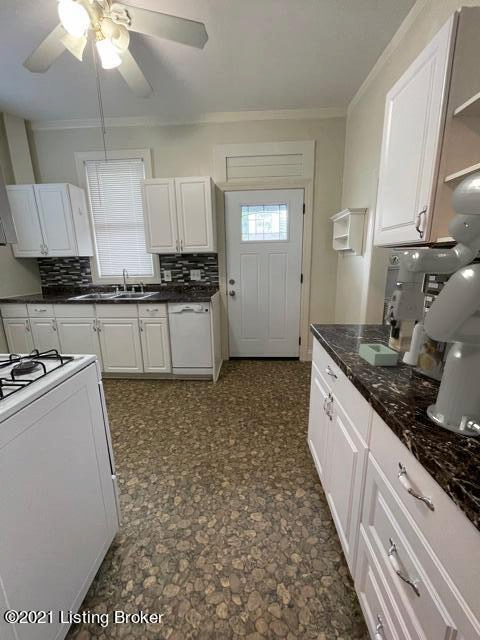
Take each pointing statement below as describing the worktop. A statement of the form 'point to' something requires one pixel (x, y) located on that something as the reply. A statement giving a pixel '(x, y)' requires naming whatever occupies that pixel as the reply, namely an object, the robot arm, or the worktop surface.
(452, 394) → the robot arm
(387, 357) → the end cap
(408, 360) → the cosmetic bottle
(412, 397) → the worktop surface
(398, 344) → the beige rectangular block
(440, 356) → the coffee box
